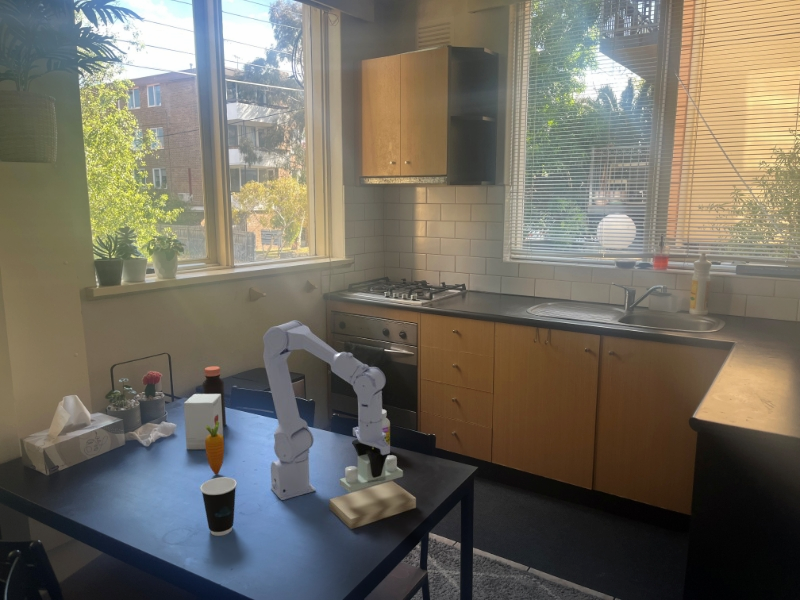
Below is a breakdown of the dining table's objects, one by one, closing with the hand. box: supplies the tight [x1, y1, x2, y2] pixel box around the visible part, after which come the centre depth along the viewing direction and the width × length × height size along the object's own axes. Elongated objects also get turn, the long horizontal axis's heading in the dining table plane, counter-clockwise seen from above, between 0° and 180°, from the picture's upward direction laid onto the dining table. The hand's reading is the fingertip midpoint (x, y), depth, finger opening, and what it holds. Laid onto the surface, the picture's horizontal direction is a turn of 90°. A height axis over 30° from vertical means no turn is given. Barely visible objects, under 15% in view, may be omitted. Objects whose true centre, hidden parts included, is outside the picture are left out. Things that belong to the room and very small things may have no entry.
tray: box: [339, 454, 404, 494], centre depth 145 cm, size 15×5×6 cm, turn 123°
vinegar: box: [202, 365, 227, 427], centre depth 198 cm, size 7×7×20 cm
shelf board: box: [328, 480, 417, 530], centre depth 145 cm, size 18×11×2 cm, turn 123°
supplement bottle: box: [382, 408, 391, 446], centre depth 177 cm, size 7×7×13 cm
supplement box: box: [183, 393, 224, 450], centre depth 184 cm, size 9×9×15 cm
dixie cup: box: [199, 476, 238, 537], centre depth 135 cm, size 8×8×11 cm
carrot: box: [205, 421, 225, 476], centre depth 163 cm, size 5×5×15 cm
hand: (371, 472), depth 145 cm, fingers closed on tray, 5 cm apart
